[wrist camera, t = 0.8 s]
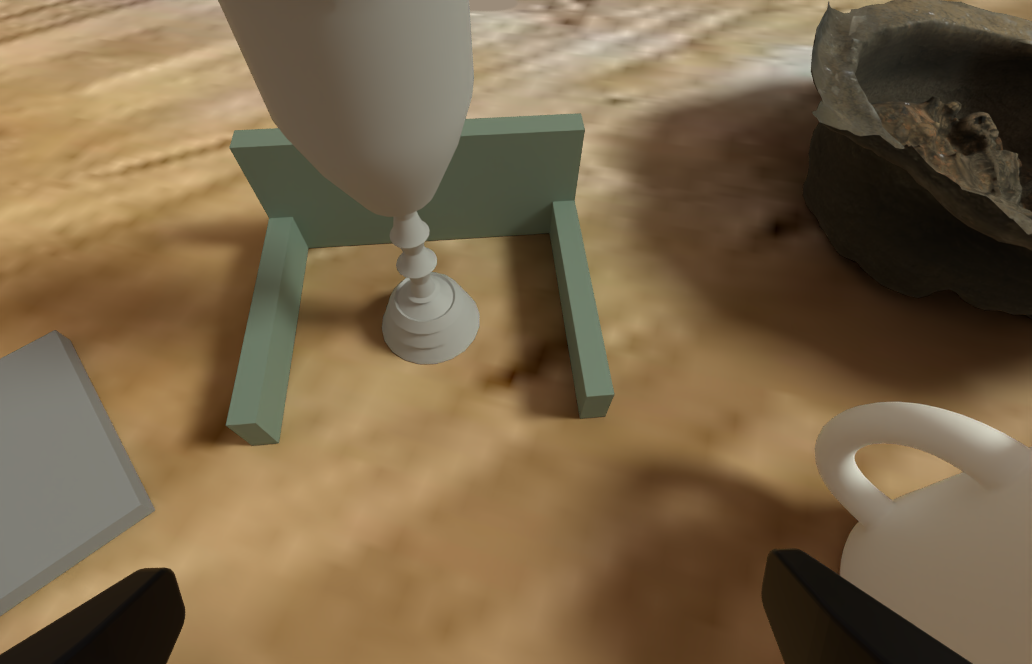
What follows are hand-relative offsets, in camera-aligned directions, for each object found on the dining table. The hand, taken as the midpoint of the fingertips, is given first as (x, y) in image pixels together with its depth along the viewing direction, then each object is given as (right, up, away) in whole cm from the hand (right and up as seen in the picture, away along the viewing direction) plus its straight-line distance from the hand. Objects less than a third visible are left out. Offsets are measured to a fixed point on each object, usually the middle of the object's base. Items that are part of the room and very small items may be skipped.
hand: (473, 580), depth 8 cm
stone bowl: (+28, +11, +24) cm, 38 cm away
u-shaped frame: (-4, +4, +19) cm, 20 cm away
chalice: (-4, +4, +19) cm, 20 cm away
